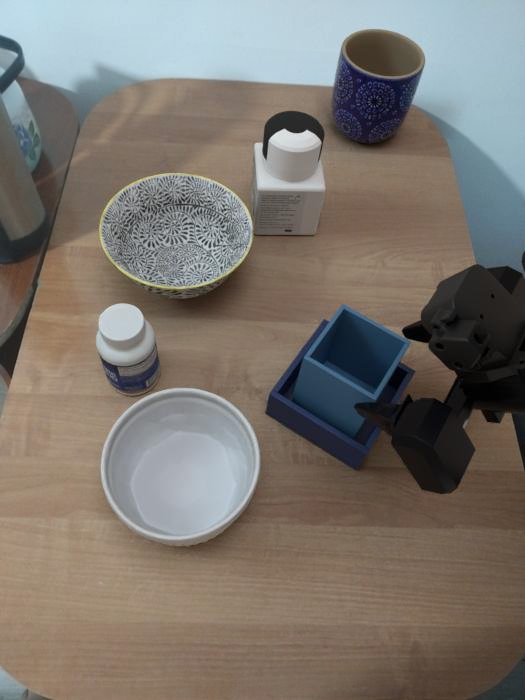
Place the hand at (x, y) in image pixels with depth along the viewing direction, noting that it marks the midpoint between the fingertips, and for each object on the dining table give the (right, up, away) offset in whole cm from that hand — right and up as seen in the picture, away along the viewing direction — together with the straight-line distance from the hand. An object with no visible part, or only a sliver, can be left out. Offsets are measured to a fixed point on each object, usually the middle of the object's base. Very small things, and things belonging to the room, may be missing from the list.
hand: (381, 369), depth 49 cm
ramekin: (-18, -11, +4) cm, 21 cm away
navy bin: (-3, -4, +9) cm, 10 cm away
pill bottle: (-24, -1, +9) cm, 25 cm away
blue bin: (-3, -3, +8) cm, 9 cm away
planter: (+4, +34, +32) cm, 47 cm away
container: (-8, +19, +22) cm, 30 cm away
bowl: (-20, +11, +16) cm, 28 cm away
